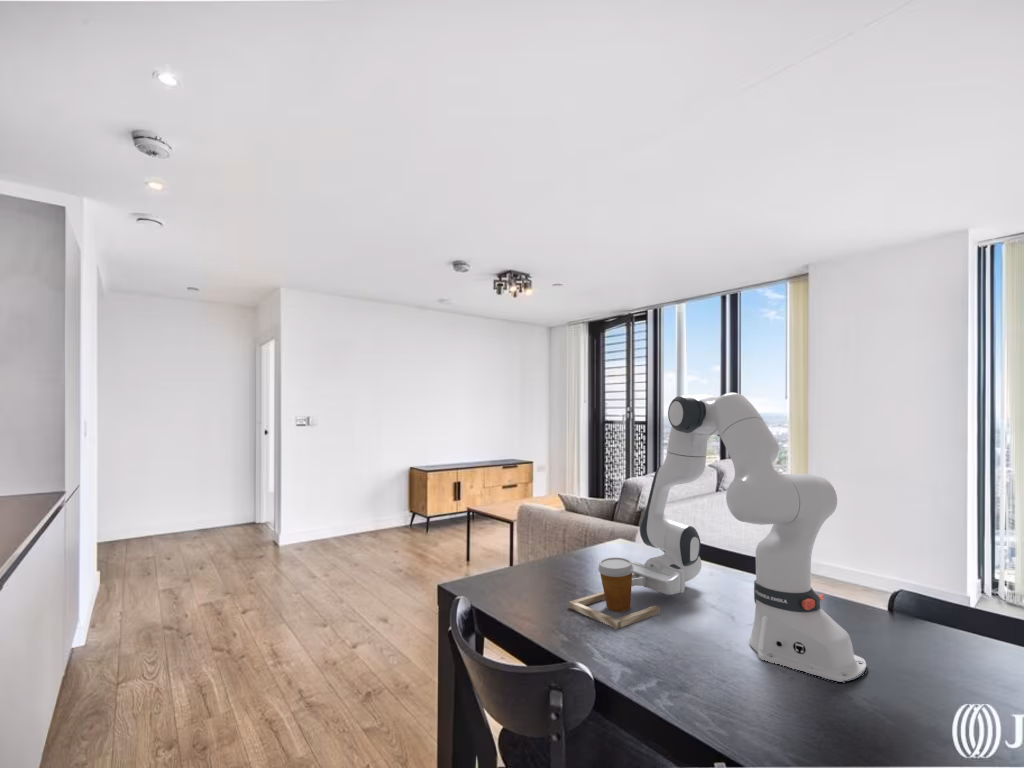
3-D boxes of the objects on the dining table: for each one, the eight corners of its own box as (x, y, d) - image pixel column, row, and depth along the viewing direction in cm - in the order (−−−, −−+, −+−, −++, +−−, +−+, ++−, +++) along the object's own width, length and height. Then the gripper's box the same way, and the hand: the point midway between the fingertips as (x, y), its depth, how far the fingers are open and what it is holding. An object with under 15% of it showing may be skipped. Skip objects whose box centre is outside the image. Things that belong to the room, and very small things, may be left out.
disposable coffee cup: (639, 613, 137) (636, 568, 136) (603, 615, 137) (599, 570, 137) (633, 598, 146) (629, 555, 146) (598, 600, 146) (595, 557, 146)
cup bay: (659, 613, 138) (659, 607, 138) (616, 629, 128) (616, 622, 128) (610, 594, 151) (610, 589, 152) (568, 607, 142) (568, 601, 142)
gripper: (631, 553, 160) (599, 561, 152) (689, 570, 144) (657, 580, 136) (631, 574, 160) (599, 583, 152) (689, 594, 144) (657, 605, 135)
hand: (627, 581), depth 144 cm, fingers closed, pressing on disposable coffee cup
